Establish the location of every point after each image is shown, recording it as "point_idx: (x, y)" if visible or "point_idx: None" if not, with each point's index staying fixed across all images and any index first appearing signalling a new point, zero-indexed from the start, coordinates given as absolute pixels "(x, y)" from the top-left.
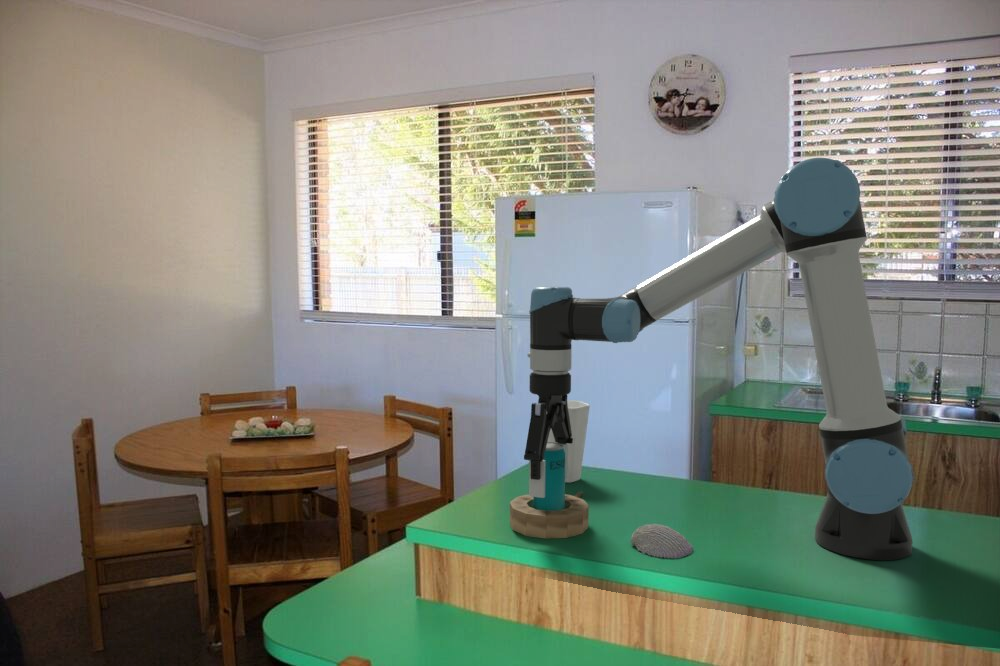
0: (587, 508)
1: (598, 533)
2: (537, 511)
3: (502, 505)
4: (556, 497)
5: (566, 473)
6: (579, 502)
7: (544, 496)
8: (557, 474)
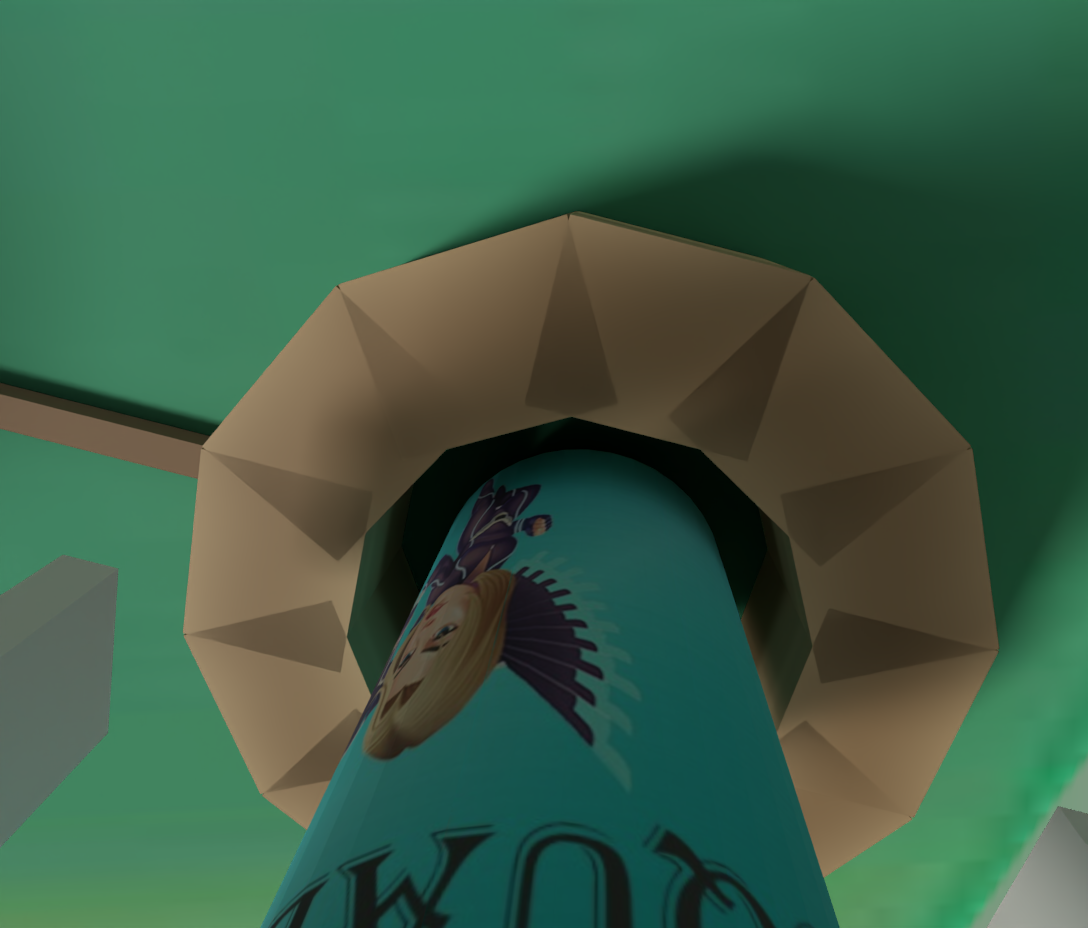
0: (620, 226)
1: (747, 104)
2: (838, 733)
3: (191, 866)
4: (738, 630)
5: (68, 607)
6: (462, 330)
7: (1084, 818)
8: (806, 853)
